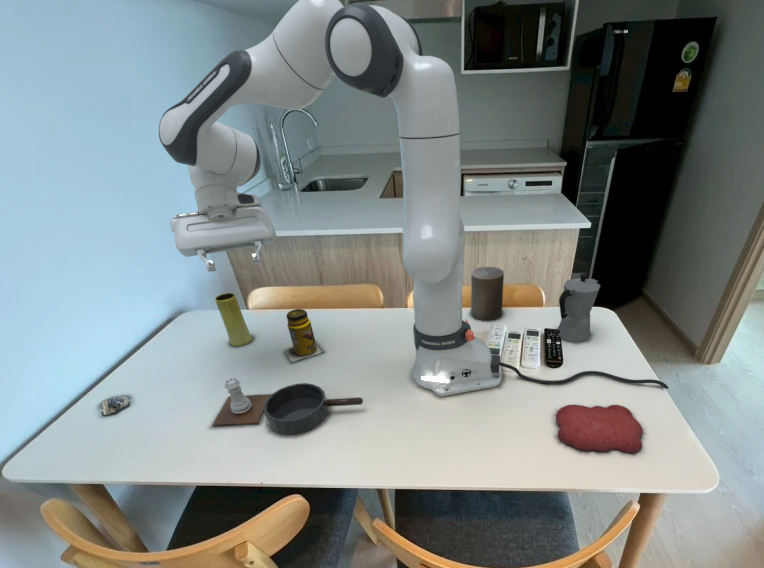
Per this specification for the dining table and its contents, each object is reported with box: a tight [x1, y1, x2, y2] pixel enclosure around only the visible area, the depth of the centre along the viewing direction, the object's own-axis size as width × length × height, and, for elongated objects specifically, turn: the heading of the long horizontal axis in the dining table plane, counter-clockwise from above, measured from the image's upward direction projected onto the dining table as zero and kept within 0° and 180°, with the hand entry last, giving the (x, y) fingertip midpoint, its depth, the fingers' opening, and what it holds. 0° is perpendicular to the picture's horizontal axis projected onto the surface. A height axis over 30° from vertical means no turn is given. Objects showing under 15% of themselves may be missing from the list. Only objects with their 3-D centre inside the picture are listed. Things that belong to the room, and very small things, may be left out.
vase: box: [214, 292, 253, 347], centre depth 118 cm, size 6×6×14 cm
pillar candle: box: [470, 265, 505, 322], centre depth 126 cm, size 10×10×15 cm
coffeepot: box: [557, 273, 601, 343], centre depth 112 cm, size 15×9×18 cm, turn 129°
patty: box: [555, 404, 643, 454], centre depth 86 cm, size 18×14×2 cm
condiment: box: [283, 308, 322, 363], centre depth 112 cm, size 7×8×12 cm
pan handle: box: [325, 397, 364, 407], centre depth 92 cm, size 9×2×2 cm, turn 92°
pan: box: [263, 382, 329, 436], centre depth 93 cm, size 13×13×4 cm
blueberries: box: [99, 396, 130, 416], centre depth 98 cm, size 7×8×2 cm
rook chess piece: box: [224, 377, 252, 414], centre depth 93 cm, size 4×4×8 cm
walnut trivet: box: [212, 393, 272, 428], centre depth 96 cm, size 10×10×1 cm
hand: (235, 266), depth 90 cm, fingers open, 8 cm apart
